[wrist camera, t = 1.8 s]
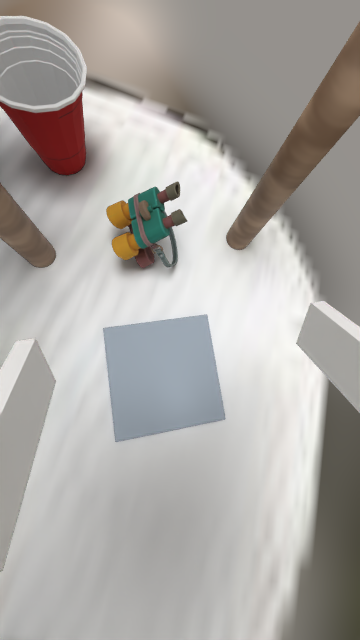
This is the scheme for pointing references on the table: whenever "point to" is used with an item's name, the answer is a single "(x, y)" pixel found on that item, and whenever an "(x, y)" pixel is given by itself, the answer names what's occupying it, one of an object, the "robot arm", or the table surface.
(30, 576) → the table surface
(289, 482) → the table surface
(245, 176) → the table surface
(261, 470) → the table surface
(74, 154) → the plastic cup
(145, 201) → the binoculars
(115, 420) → the grey mat
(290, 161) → the post gap
